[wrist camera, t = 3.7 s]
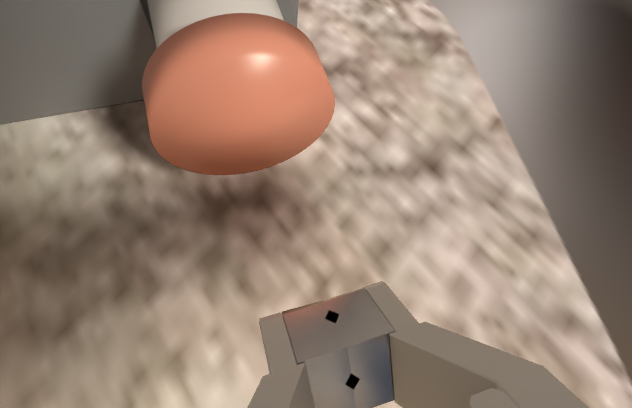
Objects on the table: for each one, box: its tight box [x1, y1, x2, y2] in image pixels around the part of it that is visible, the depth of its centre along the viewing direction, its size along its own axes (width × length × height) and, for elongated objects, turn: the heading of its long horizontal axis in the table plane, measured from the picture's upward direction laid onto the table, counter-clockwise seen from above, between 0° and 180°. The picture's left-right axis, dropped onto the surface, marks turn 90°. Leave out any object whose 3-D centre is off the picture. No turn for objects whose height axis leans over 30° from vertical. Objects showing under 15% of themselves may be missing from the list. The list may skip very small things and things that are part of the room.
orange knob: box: [142, 0, 335, 175], centre depth 16 cm, size 7×8×7 cm
